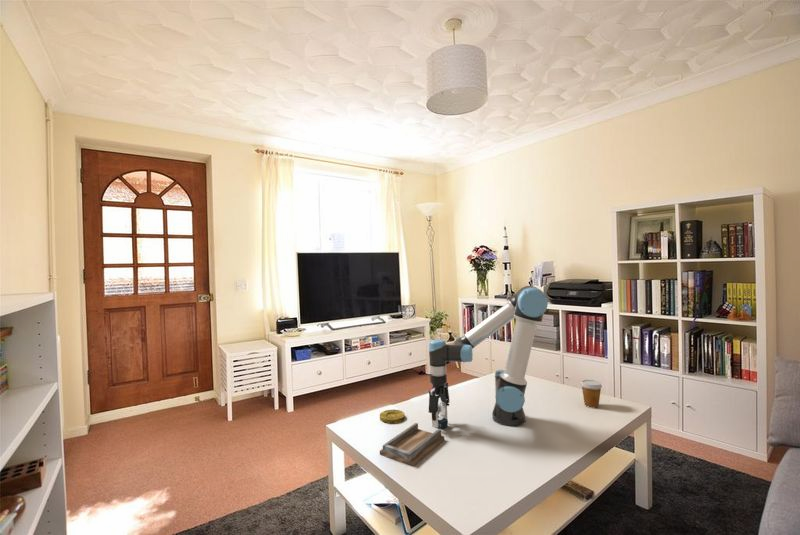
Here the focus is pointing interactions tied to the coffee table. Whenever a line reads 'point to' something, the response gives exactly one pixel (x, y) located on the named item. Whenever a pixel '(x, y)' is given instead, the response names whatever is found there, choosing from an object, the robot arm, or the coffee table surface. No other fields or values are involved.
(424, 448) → the wooden tray
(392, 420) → the olive yellow flat disc
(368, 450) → the coffee table surface
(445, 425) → the watch
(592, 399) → the disposable coffee cup
